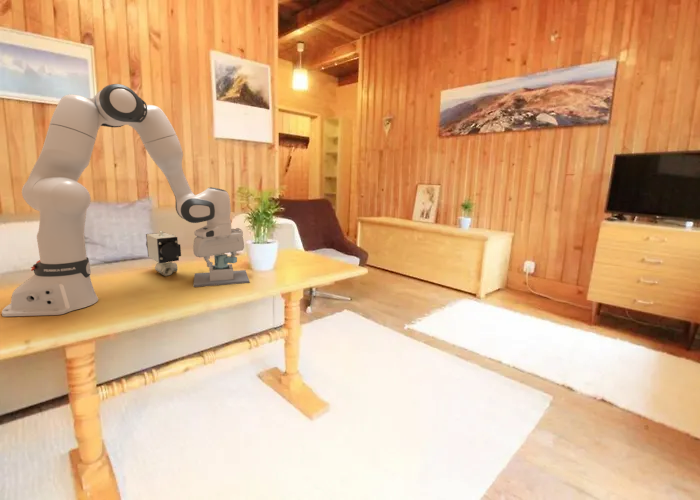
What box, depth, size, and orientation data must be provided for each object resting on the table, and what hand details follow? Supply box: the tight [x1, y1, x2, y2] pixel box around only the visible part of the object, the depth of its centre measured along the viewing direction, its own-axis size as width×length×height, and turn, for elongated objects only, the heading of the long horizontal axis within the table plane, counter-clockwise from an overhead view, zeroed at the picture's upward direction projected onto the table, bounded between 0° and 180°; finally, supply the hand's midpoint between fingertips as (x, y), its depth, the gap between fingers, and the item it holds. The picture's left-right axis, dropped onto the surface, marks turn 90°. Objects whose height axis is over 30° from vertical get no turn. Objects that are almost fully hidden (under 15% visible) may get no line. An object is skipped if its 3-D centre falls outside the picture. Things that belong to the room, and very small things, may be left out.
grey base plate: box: [192, 263, 250, 288], centre depth 141 cm, size 20×16×5 cm
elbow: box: [213, 253, 238, 270], centre depth 140 cm, size 9×5×9 cm, turn 78°
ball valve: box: [145, 230, 182, 277], centre depth 144 cm, size 18×8×18 cm, turn 46°
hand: (220, 264), depth 140 cm, fingers open, 8 cm apart
